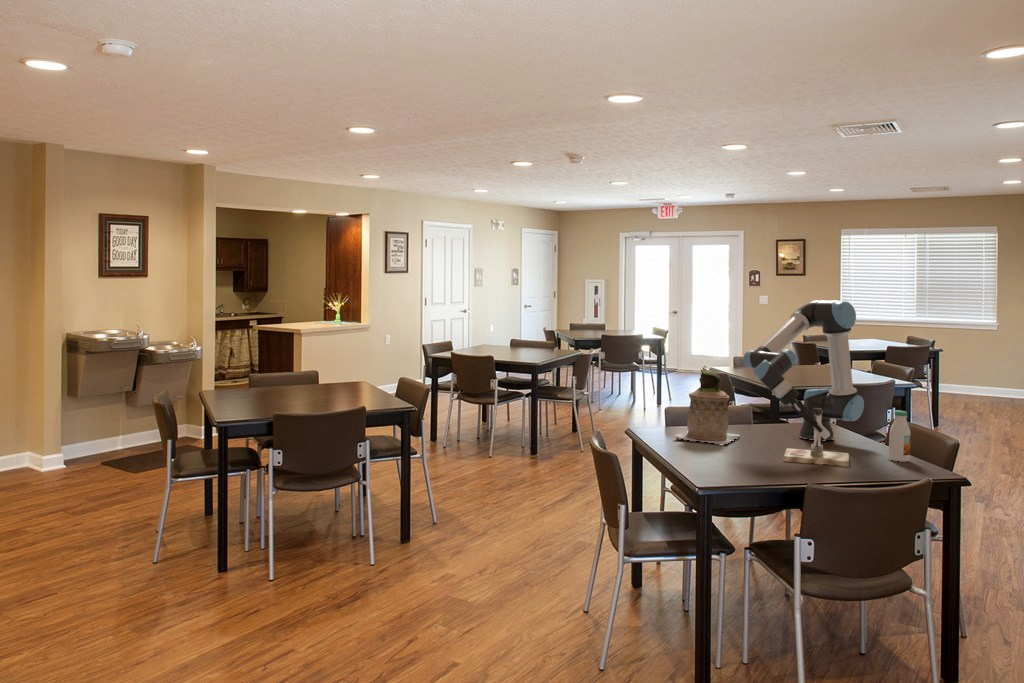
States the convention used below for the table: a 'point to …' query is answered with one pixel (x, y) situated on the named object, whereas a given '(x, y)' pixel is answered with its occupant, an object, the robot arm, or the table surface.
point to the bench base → (816, 456)
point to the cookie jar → (708, 412)
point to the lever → (818, 418)
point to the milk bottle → (899, 438)
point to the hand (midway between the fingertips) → (827, 436)
